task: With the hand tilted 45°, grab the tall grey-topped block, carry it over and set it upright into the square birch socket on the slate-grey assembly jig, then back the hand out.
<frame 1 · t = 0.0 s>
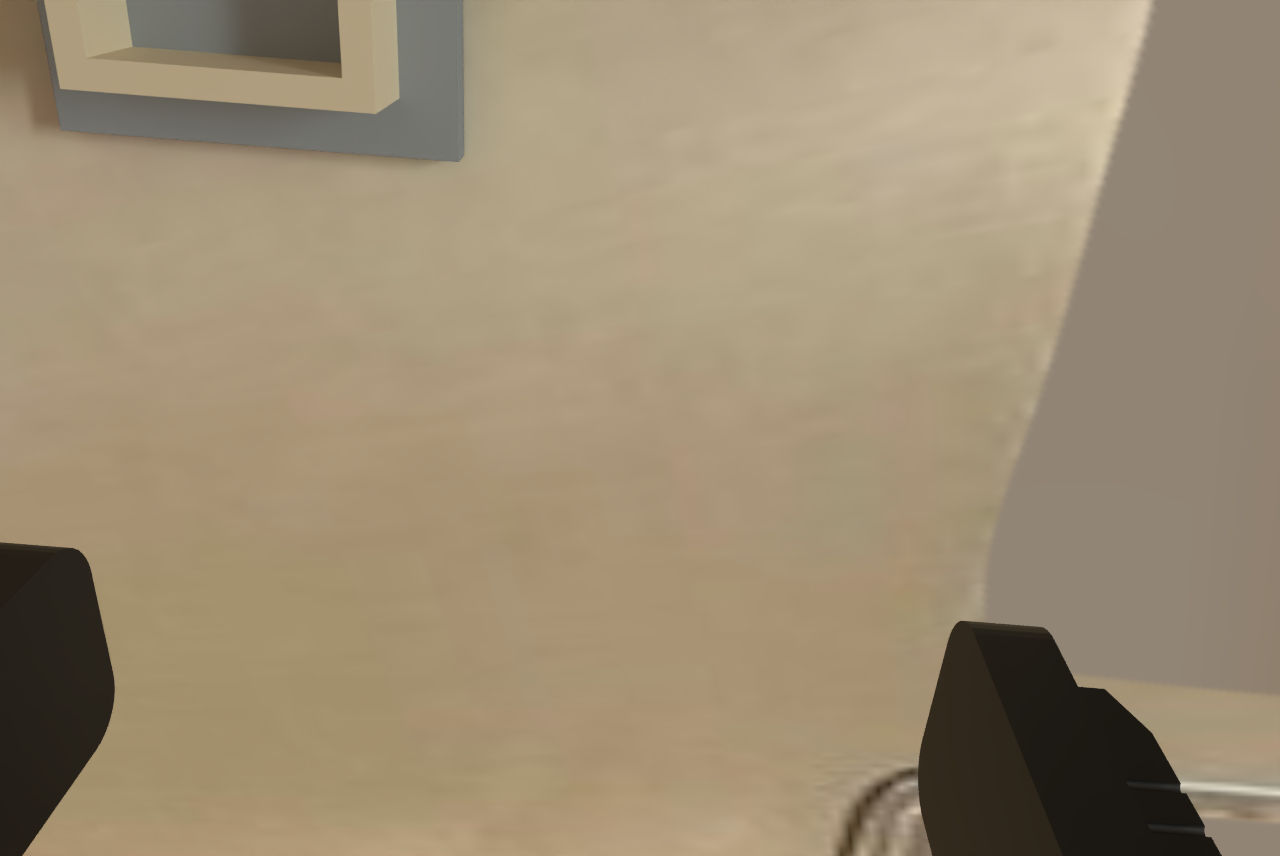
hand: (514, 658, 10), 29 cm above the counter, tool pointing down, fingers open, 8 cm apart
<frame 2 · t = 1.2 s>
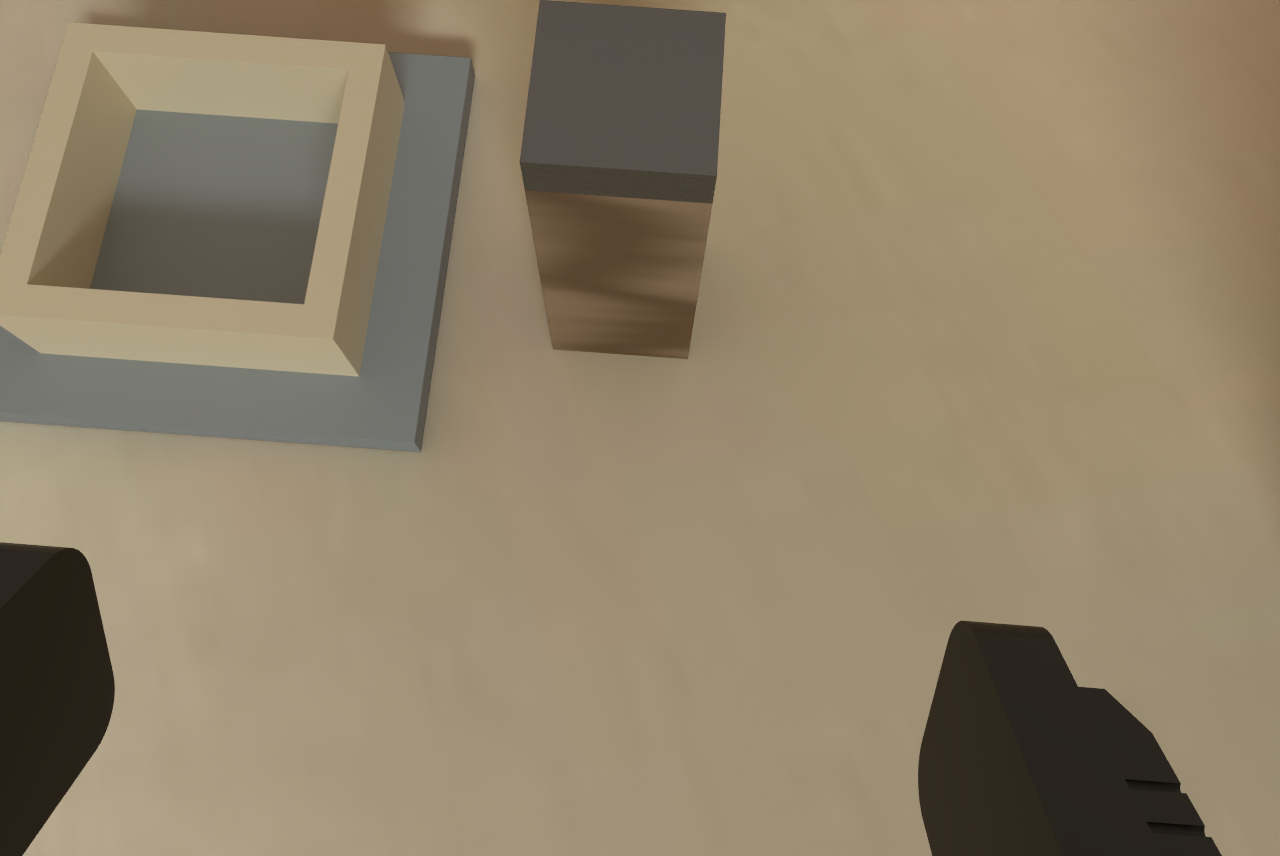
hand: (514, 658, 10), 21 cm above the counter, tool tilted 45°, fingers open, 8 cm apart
jig: (242, 237, 34), on the counter
tall grey-topped block: (625, 292, 34), on the counter
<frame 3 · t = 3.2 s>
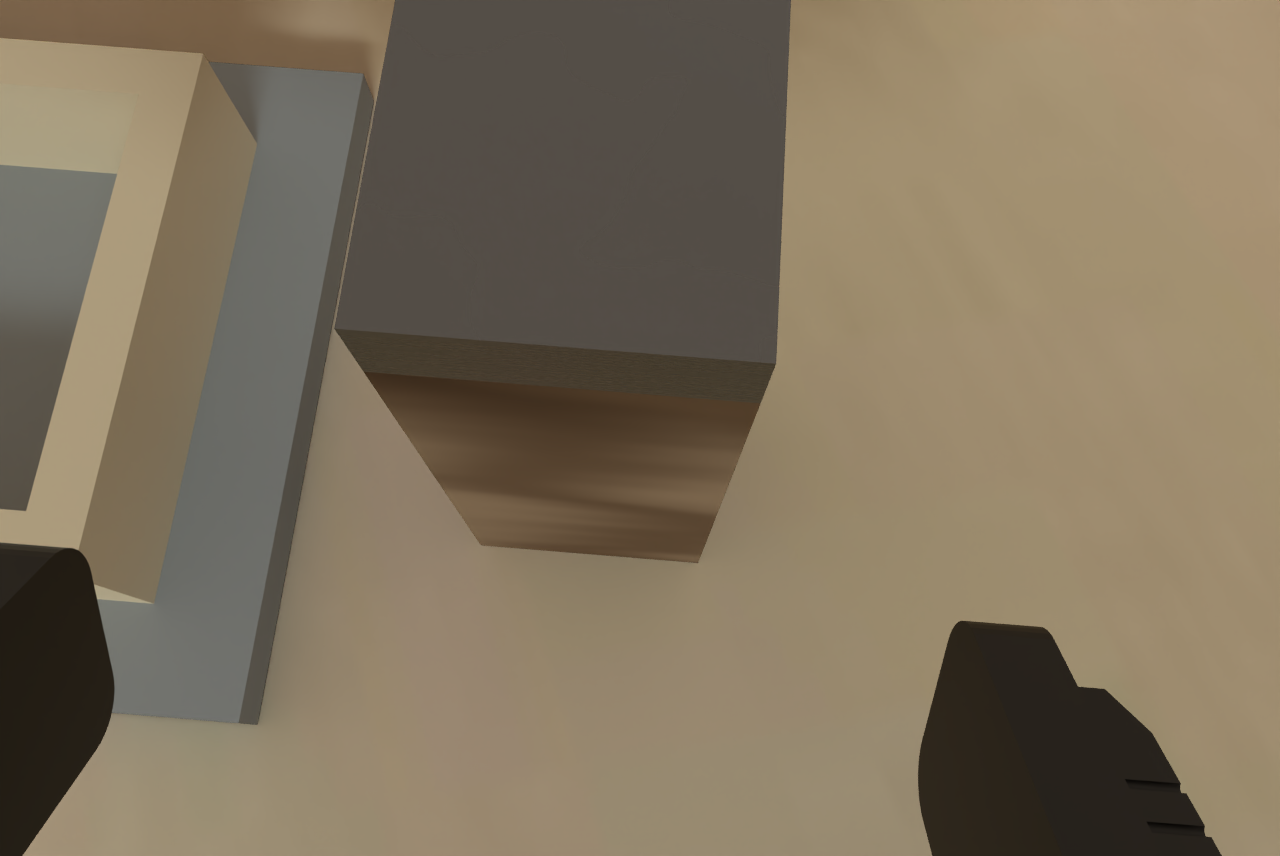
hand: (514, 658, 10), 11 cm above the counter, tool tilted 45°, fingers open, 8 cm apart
tall grey-topped block: (599, 449, 21), on the counter
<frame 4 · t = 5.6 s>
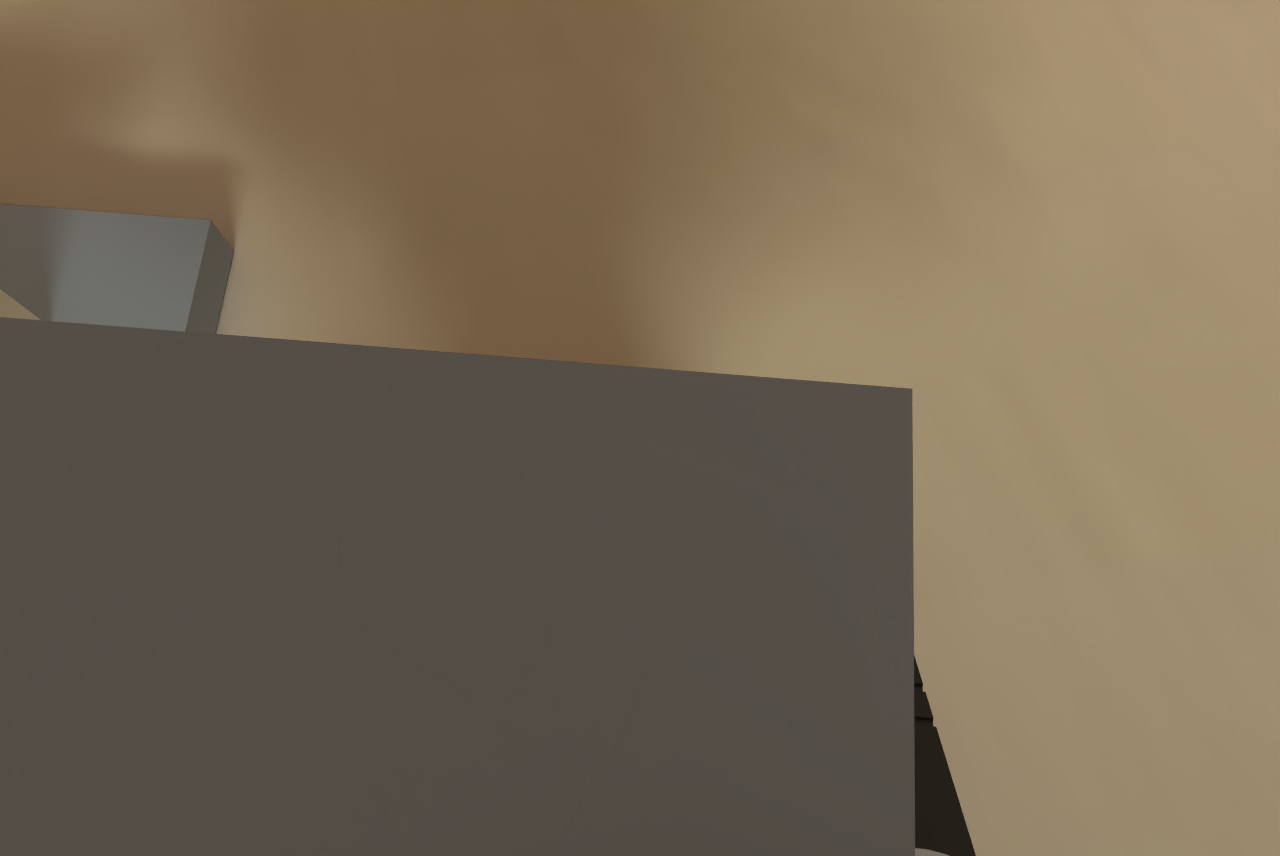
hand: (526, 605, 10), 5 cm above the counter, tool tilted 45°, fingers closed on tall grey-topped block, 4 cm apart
tall grey-topped block: (544, 789, 14), on the counter, touching gripper
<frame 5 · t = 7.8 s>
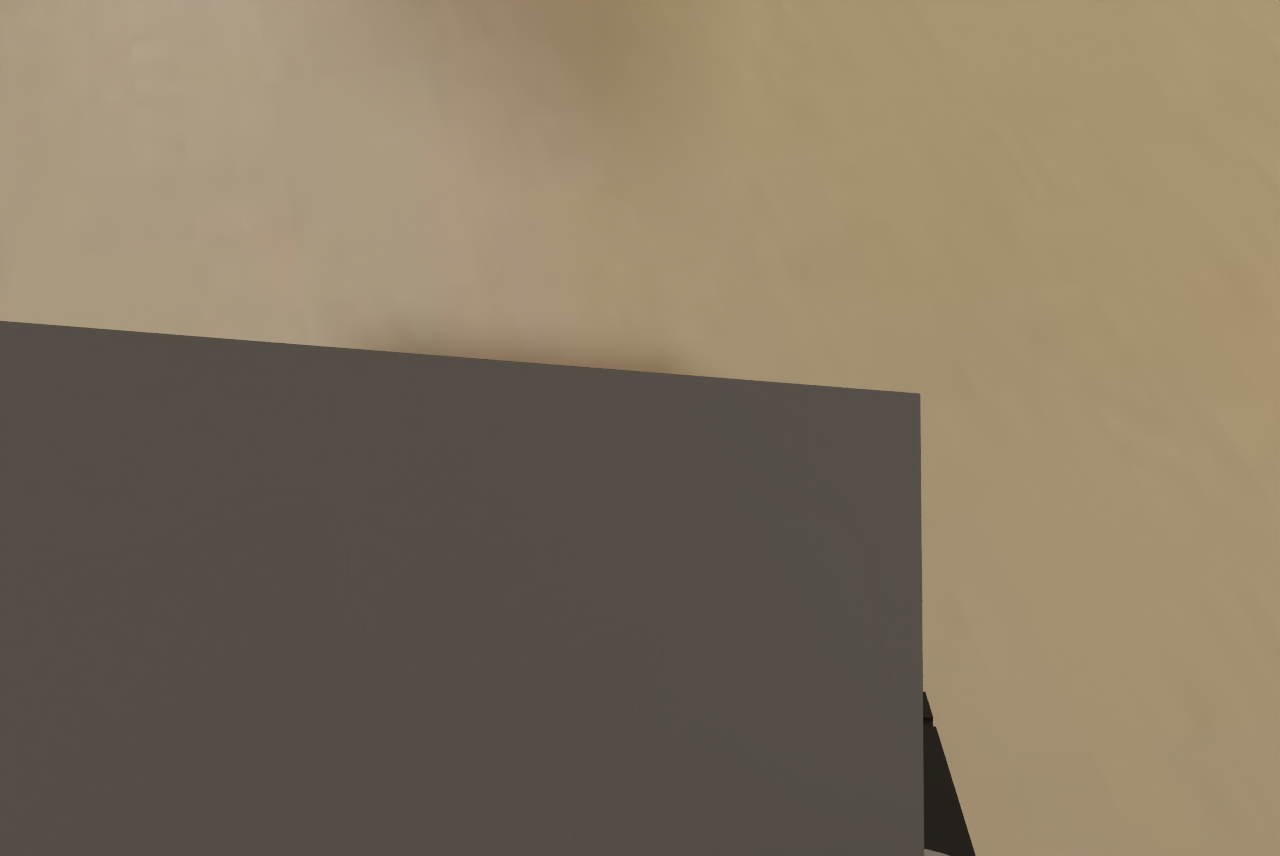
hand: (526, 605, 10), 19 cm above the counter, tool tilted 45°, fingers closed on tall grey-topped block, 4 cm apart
tall grey-topped block: (545, 791, 14), point 14 cm above the counter, touching gripper
when the fingers open (7 cm above the counter, at t = 10.4 s): tall grey-topped block drops 1 cm, resting on jig.
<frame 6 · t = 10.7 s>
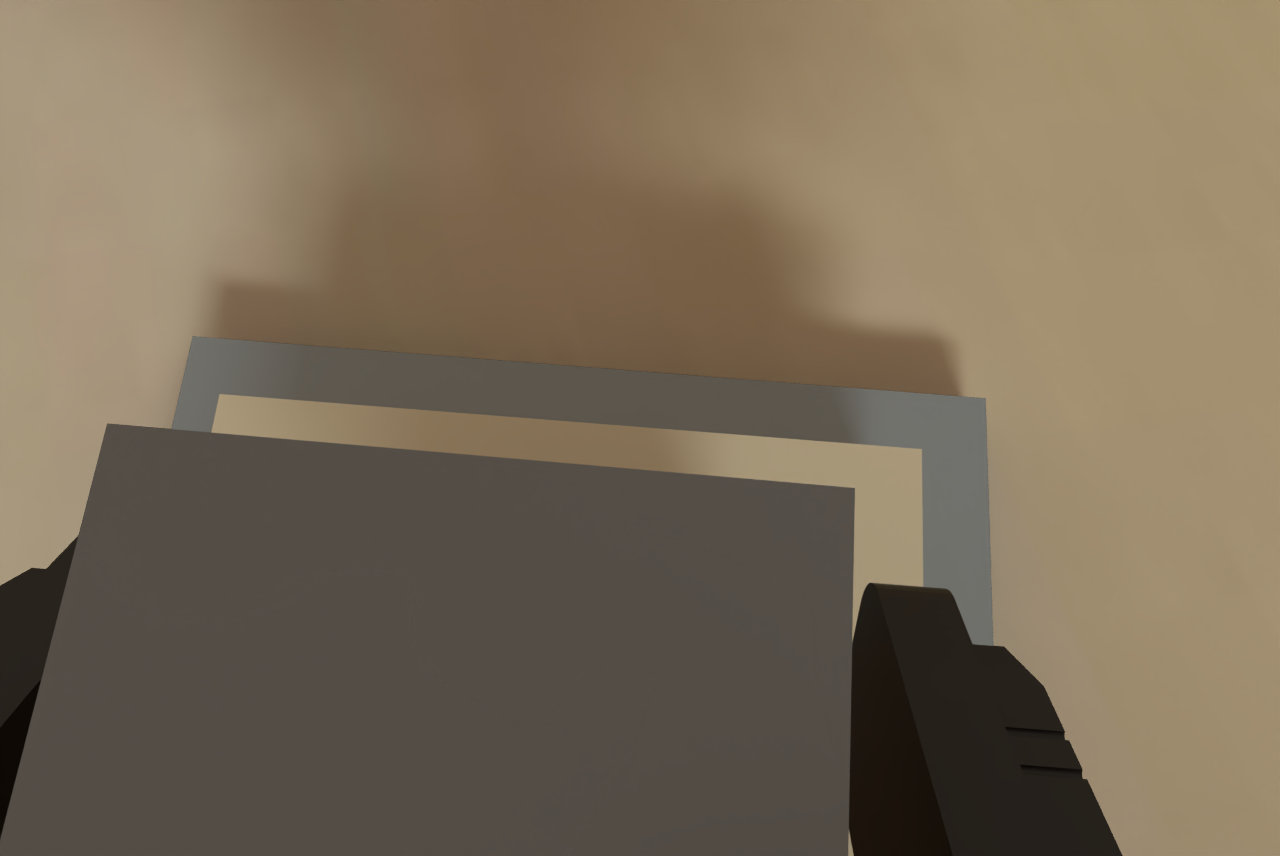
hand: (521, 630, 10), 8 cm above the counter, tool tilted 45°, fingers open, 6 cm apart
jig: (551, 785, 17), on the counter
tall grey-topped block: (552, 791, 16), point 1 cm above the counter, touching jig
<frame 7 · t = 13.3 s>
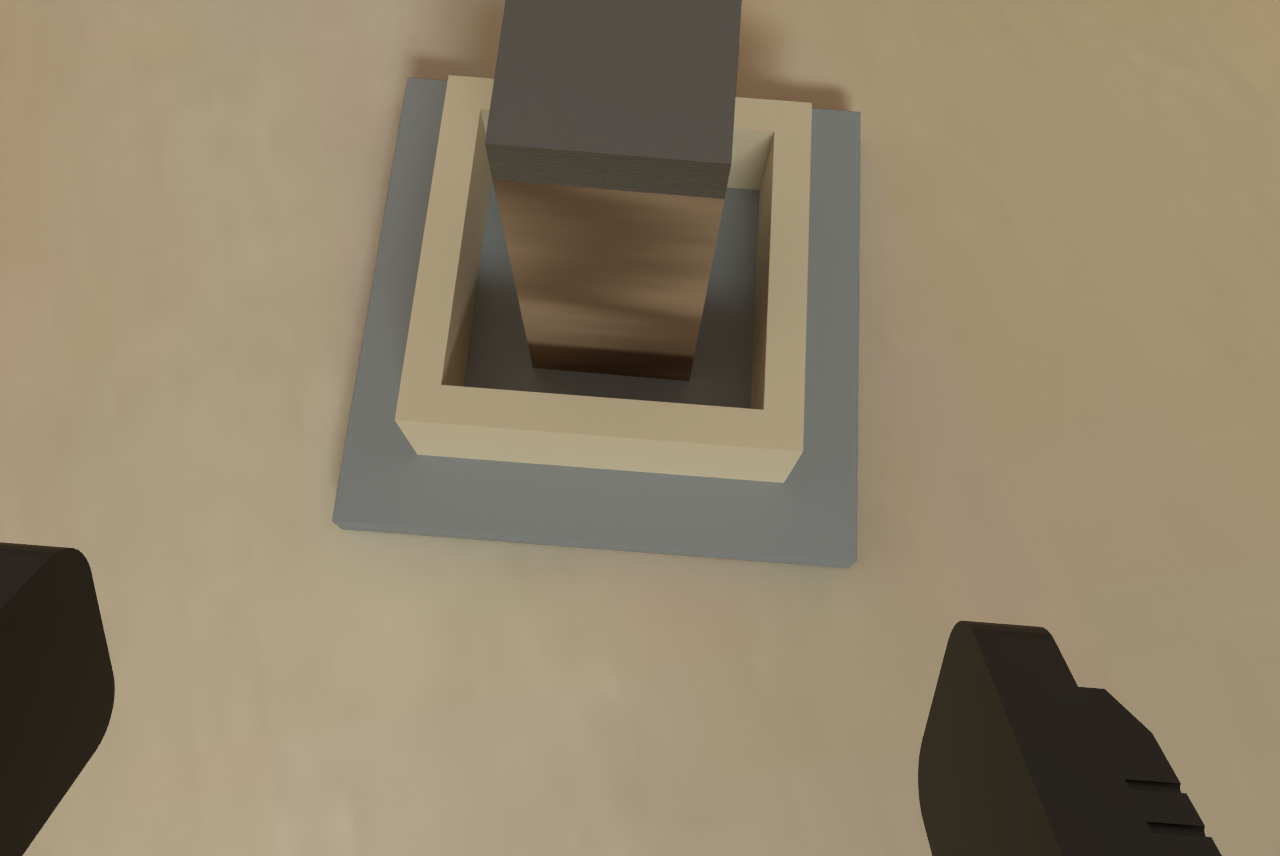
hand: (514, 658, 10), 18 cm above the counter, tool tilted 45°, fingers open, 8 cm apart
jig: (615, 315, 30), on the counter
tall grey-topped block: (618, 303, 29), point 1 cm above the counter, touching jig
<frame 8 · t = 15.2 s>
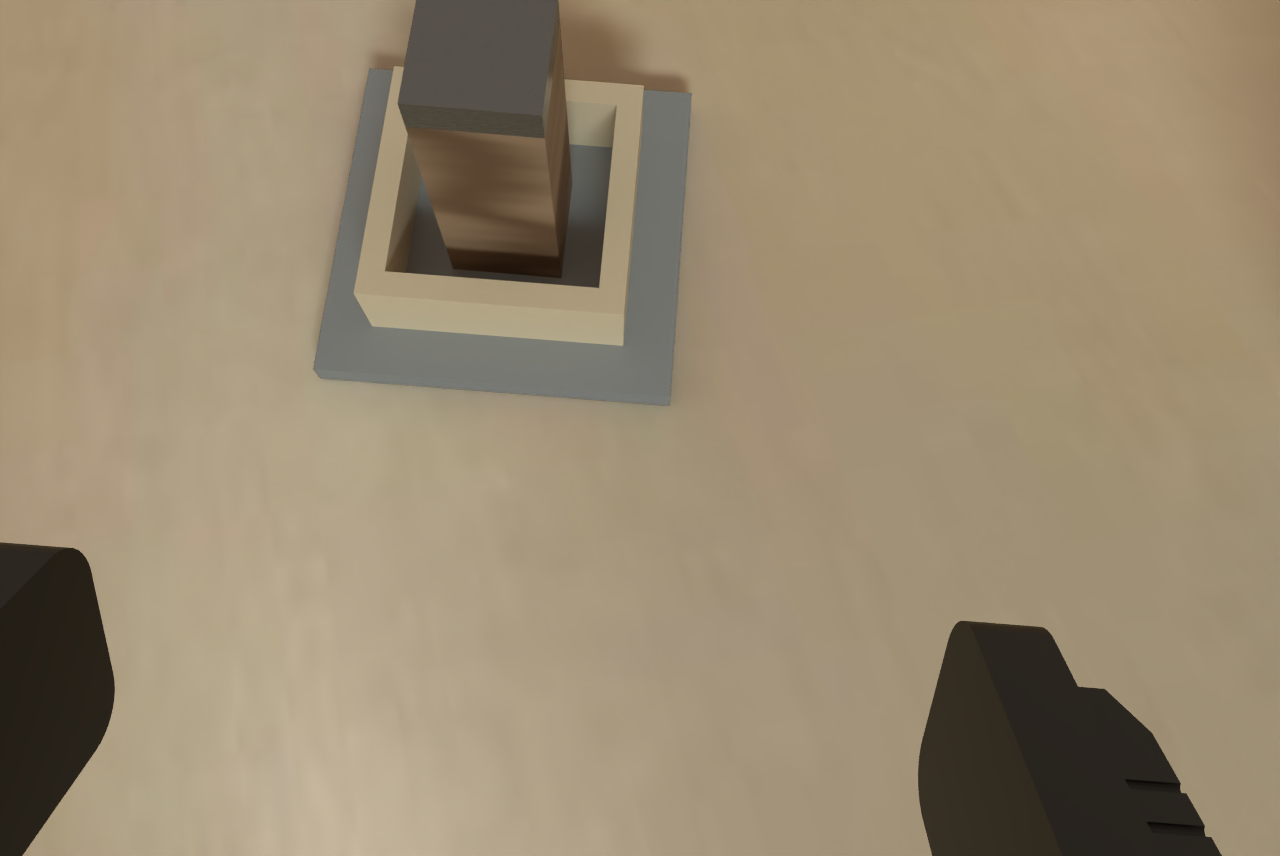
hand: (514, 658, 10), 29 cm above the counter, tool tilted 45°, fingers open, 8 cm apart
jig: (514, 236, 43), on the counter
tall grey-topped block: (513, 225, 42), point 1 cm above the counter, touching jig
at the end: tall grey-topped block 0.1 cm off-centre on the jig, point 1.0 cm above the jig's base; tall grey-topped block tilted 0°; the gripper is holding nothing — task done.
